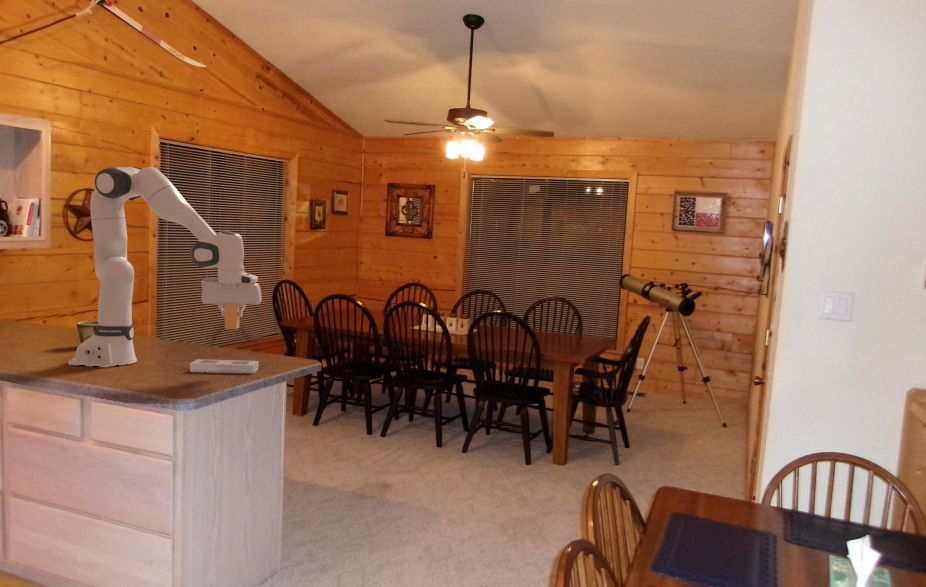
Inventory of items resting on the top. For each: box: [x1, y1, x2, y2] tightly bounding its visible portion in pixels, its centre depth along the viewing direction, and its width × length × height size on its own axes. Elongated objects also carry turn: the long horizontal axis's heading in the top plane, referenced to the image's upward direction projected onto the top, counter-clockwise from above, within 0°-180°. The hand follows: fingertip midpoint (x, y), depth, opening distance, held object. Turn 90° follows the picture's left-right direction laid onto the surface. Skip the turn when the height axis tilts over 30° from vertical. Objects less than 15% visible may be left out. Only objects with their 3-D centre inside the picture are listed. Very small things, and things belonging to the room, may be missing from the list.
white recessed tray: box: [189, 358, 260, 375], centre depth 256 cm, size 22×8×3 cm, turn 93°
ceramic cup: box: [76, 320, 98, 344], centre depth 292 cm, size 13×10×10 cm
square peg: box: [223, 303, 241, 330], centre depth 253 cm, size 4×4×9 cm
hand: (232, 316), depth 253 cm, fingers closed on square peg, 4 cm apart
